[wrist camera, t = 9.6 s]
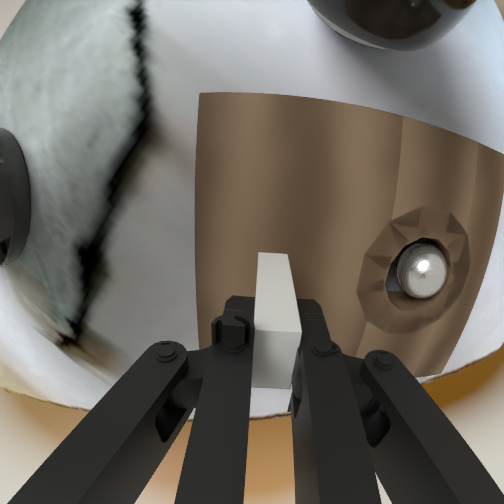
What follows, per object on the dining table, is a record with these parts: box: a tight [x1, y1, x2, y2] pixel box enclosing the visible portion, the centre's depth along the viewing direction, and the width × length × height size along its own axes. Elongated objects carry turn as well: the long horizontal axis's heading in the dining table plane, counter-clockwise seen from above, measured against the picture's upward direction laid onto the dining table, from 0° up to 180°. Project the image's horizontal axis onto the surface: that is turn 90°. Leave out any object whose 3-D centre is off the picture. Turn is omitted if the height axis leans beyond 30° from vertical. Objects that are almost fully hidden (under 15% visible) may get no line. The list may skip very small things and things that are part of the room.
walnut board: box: [195, 92, 504, 384], centre depth 18 cm, size 22×20×3 cm
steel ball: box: [397, 243, 447, 298], centre depth 17 cm, size 4×4×4 cm
